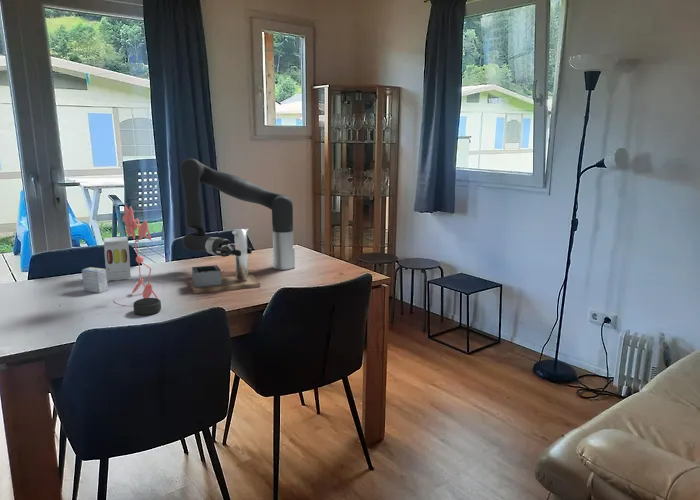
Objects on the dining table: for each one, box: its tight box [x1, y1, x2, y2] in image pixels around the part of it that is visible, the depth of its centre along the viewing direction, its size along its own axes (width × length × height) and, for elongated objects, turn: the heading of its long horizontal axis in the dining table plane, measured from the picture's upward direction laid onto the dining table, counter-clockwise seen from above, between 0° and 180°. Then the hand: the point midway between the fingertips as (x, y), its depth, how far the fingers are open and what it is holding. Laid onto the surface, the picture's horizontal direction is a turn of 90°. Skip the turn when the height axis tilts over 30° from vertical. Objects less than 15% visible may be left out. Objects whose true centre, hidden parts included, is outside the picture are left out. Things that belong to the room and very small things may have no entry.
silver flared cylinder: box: [231, 228, 250, 279], centre depth 214 cm, size 8×5×20 cm, turn 142°
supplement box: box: [103, 236, 132, 282], centre depth 222 cm, size 10×9×17 cm
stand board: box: [189, 274, 261, 294], centre depth 214 cm, size 26×14×2 cm, turn 112°
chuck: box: [191, 264, 222, 288], centre depth 211 cm, size 10×10×6 cm
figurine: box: [113, 205, 159, 307], centre depth 192 cm, size 15×26×35 cm, turn 38°
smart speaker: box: [132, 297, 162, 316], centre depth 182 cm, size 9×9×4 cm
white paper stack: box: [81, 266, 109, 294], centre depth 205 cm, size 8×4×9 cm, turn 71°
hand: (245, 252), depth 212 cm, fingers closed on silver flared cylinder, 5 cm apart
